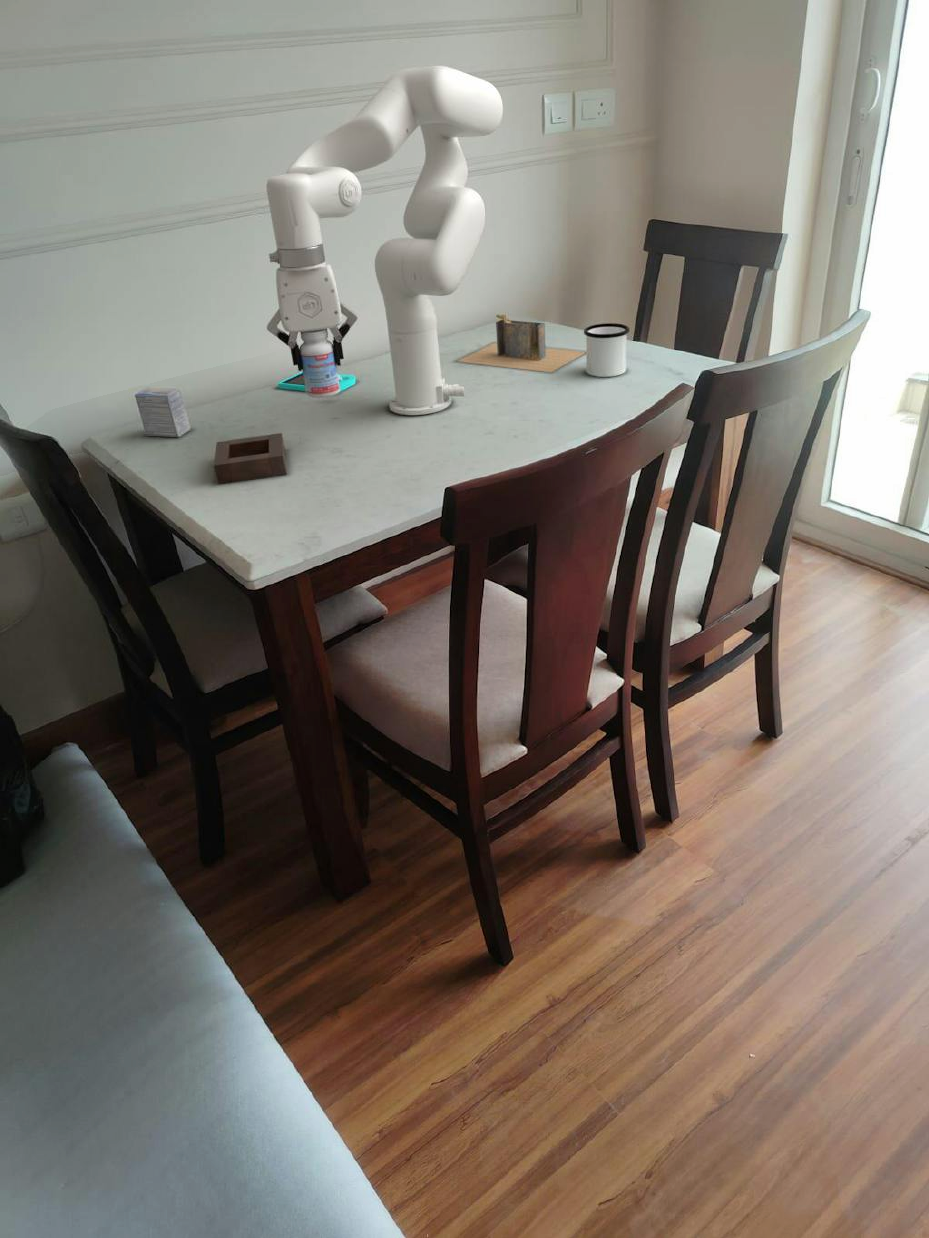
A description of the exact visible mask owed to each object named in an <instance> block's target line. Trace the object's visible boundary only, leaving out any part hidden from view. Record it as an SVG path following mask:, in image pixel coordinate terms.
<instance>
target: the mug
mask: <svg viewBox="0 0 929 1238" xmlns="http://www.w3.org/2000/svg"><path fill="white" fill-rule="evenodd" d="M629 333H630V326H628V325H627V324H623V323H617V322H616V323H615V322H606V323H605V322H604V323H603V322H602V323H597V324H591V325H588V326H587V327H585V328H584V329H583V335H584V336H585V337H586V343H585V344H586V373H587V375H589V376H592V377H595V378H613V377H618V376H621V375H623V374H625V372H626V371H627V340H628V339H627V337H628V336H627V335H628V334H629Z"/></svg>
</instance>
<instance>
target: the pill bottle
mask: <svg viewBox="0 0 929 1238" xmlns="http://www.w3.org/2000/svg"><path fill="white" fill-rule="evenodd" d="M328 332H329V331H328V329H320V330H312V331H304V332H299V333H300V339H301V341H302V343H301V344H300V346H299V352H300V358H301V364H302V370H301V371H303V376H304V382H305V388H306V391H305V392H306V395H307V396H308V397H310V398H313V399H324V398H329V397H333V396H336V395H337V394H339V393H340V392H339V391H340V385H339V379H338V374H339V372H338V365H337V364H336V358H335V351H334V346H333V342H332V341H330V340H328V338H329V333H328Z"/></svg>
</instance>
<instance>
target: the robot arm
mask: <svg viewBox="0 0 929 1238" xmlns="http://www.w3.org/2000/svg"><path fill="white" fill-rule="evenodd" d="M503 105H504V104H503V100H502V97H501V94H500V92H499V91H498V89H497V88H496V86H494V85H493V84H492V83H491V82H489V81H487V80H485V79H482V78H479V77H477V76H474V75H471V74H469V73H467V72H464V71H461V70H459V69H455V68H453V67H449V66H445V65H430V66H429V65H427V66H420V67H419V66H418V67H408V68H403V69H400V70H398V71H396V72H394V74H392V75H391V76H390V77H389V79H387V80H386V82H385V83H384V84H383V85H382V86H381V87H380V88H379V90H378V91H377V92H376V93H375V94H374V95H373V96H372V98H371V99H370V100H369V101H368V102H367V103H366V104H365V105H364V106H363V108H361V109H360V111H359V112H358V113H357V114H356V115H355V116H354V117H353V118H351V119H349V120H348V121H345V122H344V123H342V124H341V125H339V126H338V127H336V128H334V129H333V130H331V131H330V132H328V133H326V134H325V135H323V136H321V137H320V138H319V139H317V140H315V141H314V142H313V143H311V144H310V145H309V146H308V147H306V149H304V151H302V152H301V154H299V156H298V157H296V159H295V160H294V161H293V163H291V164H290V166H289V167H288V169H287V170H286V172H285V173H283V174H277V175H274V176H271V177H270V178H269V179H268V180H267V181H266V195H267V200H268V206H269V212H270V217H271V222H272V223H271V224H272V228H273V234H274V239H275V245H276V250H275V251H273V252H272V253H268V257H269V262H270V263H275V264H276V263H277V265H279V267H278V268H276V271H275V283H276V294H277V295H276V296H277V301H278V309H277V310H276V312H275V313H274V315H273V316H272V318H270V320H269V322H268V323H267V325H266V330H267V331H268V332H269V333H270V334H272V335H273V336H275V337H276V338H278V340H280V341H281V342H282V343H283V344H285V345H286V346H287V347H288V348H290V354H291V359H292V364H293V366H297V370H298V372H302V371H303V370H302V364H301V358H300V352H299V348H300V346H299V344H298V342H297V339H298V334H299V333H300V332H304V331H312V330H320V329H327V330H329V331H330V332H331V334H332V338H333V340H332V344H333V346H334V351H335V358H336V365H337V367H340V366H341V367H342V363H341V360H344V359H345V357H344V350H343V344H342V342H343V340H344V338H345V337H346V336H347V335H348V332H349V331H350V330H351V329H352V327H353V326H354V324H355V323H356V321H357V320H358V315H357V313H355V312H354V311H352V310H351V309H350V308H349V307H348V306H346V305H345V304H344V303H343V302H341V301H340V296H339V291H338V286H337V282H336V278H335V274H334V271H333V268H332V265H331V263H330V262H327V261H326V257H325V250H324V244H323V243H324V242H323V236H322V231H321V223H320V221H321V219H331V218H334V219H335V218H337V219H338V218H345V217H347V216H350V215H351V214H353V213H354V212H355V211H356V210H357V208H358V207H359V206H360V203H361V200H362V193H363V191H362V186H361V183H360V180H359V178H358V177H357V176H356V175H355V173H359V172H363V171H366V170H369V169H372V168H375V167H378V166H379V165H382V164H384V163H386V162H388V161H389V160H391V159H392V158H393V156H395V154H396V153H397V151H399V149H400V148H401V147H402V146H403V145H404V144H405V142H406V141H407V140H408V139H409V137H410V136H412V134H413V133H414V132H415V131H416V129H418V128H419V127H420V131H421V135H422V138H423V144H424V150H425V159H424V162H423V166H422V168H421V170H420V174H419V175H418V177H417V180H416V183H415V185H414V187H413V189H412V192H411V194H410V196H409V199H408V201H407V203H406V206H405V209H404V213H403V217H402V219H403V220H402V221H403V227H404V230H405V232H406V233H407V234H408V235H409V236H410V237H397V238H391V239H389V240H386V241H385V242H384V243H383V244H382V245H380V246H379V248H378V250H377V252H376V254H375V258H374V271H375V277H376V280H377V284H378V286H379V289H380V292H381V297H382V300H383V304H384V310H385V318H386V324H387V325H386V326H387V334H388V341H389V350H390V357H391V358H390V359H391V367H392V376H393V384H394V393H395V396H394V397H392V398H391V399H390V400H389V402H388V405H389V409H390V411H391V412H393V413H395V414H398V415H402V416H423V415H429V414H434V413H438V412H441V411H443V410H446V409H447V408H448V407H450V406H451V404H452V397H465V393H466V391H465V390H466V389H465V386H460V383H456V384H455V383H454V384H448V383H446V381H445V377H442V371H441V369H442V368H441V360H440V359H441V358H440V348H439V347H440V346H439V338H438V337H439V335H438V327H437V326H438V325H437V324H438V322H437V316H436V315H437V314H436V311H435V308H434V305H433V301H432V299H431V298H430V296H433V297H434V296H435V297H445V296H449V295H452V294H453V293H454V292H455V291H457V290H458V288H459V287H460V285H461V284H462V282H463V281H464V278H465V276H466V274H467V272H468V269H469V266H470V264H471V262H472V260H473V258H474V255H475V253H476V251H477V248H478V246H479V243H480V242H481V238H482V236H483V233H484V230H485V225H486V207H485V203H484V201H483V198H482V197H481V195H480V194H479V193H478V192H477V191H476V190H474V189H473V188H470V187H466V183H467V180H468V175H469V168H468V163H467V160H466V157H465V155H464V152H463V150H462V148H461V144H460V142H459V138H473V137H474V138H475V137H486V136H489V135H491V134H493V133H494V132H496V130H497V129H498V127H499V126H500V124H501V122H502V119H503V114H504V113H503V112H504V106H503ZM342 315H343V316H345V317H346V319H345V321H344V322H343V323H342V320H343V316H342ZM280 322H281V325H282V328H283V330H282V329H280V328H279V324H280ZM338 326H340V327H338ZM286 332H288V334H287V333H286Z"/></svg>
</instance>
